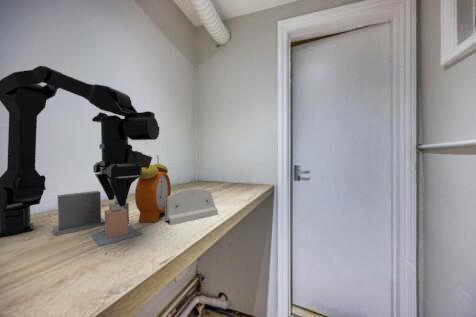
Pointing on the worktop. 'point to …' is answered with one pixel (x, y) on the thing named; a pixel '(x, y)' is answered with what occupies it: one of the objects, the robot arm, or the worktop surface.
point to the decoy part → (121, 207)
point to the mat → (104, 240)
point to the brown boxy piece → (116, 222)
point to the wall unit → (78, 212)
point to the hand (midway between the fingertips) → (116, 202)
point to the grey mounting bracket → (189, 206)
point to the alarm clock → (152, 192)
